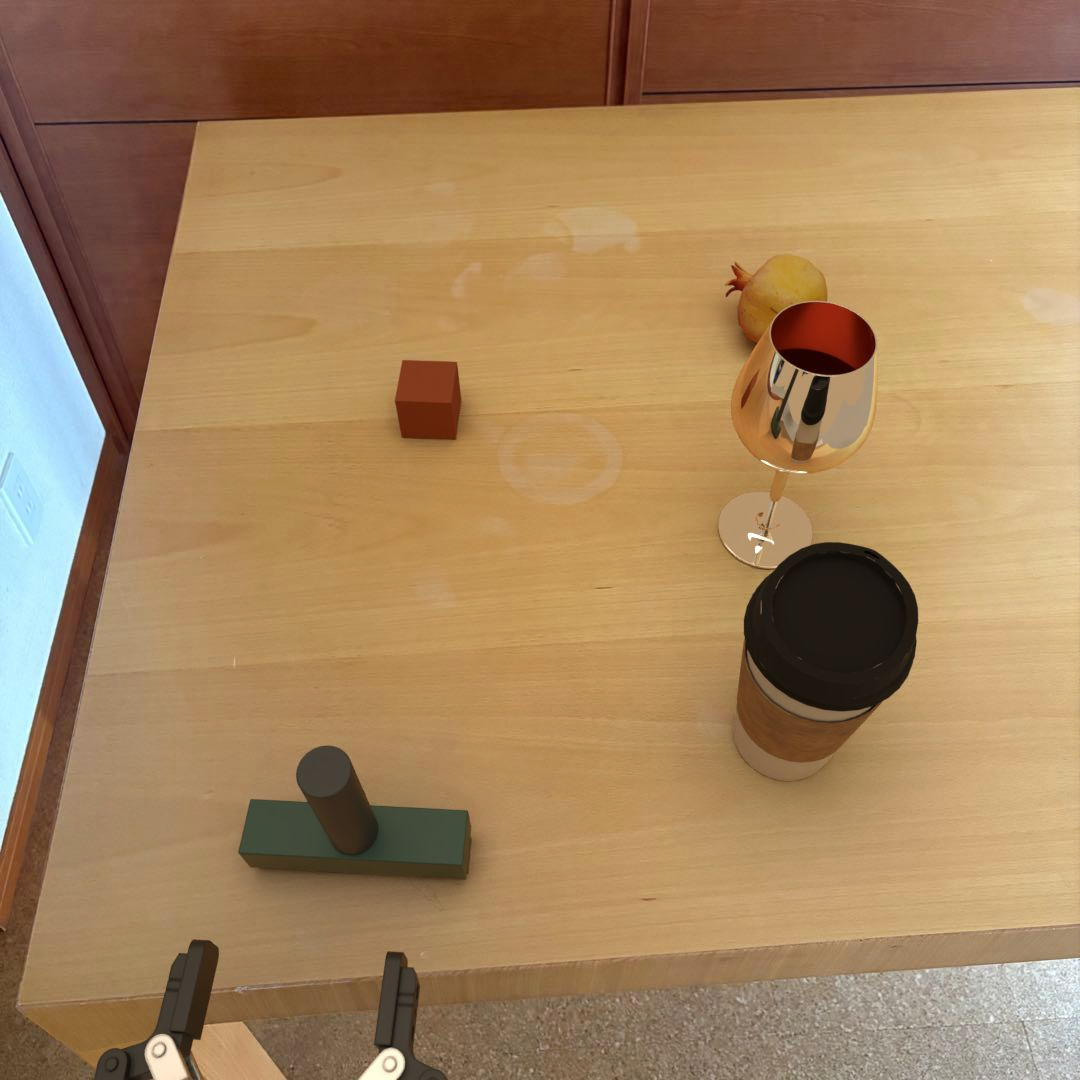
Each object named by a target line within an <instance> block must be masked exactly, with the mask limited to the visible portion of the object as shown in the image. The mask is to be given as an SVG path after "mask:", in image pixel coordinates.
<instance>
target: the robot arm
mask: <svg viewBox="0 0 1080 1080" xmlns="http://www.w3.org/2000/svg"><path fill="white" fill-rule="evenodd" d="M188 945H189V946H188V949H187V952H186V953H185V952H179V953H178V954H177V955H176V957H175V959H174V960H173V962H172V963H171V966H170V970H169V974H168V977H167V979H168V980H167V983H166V986H165V991H164V994H163V998H162V1002H161V1005H160V1010H159V1014H158V1019H157V1022H156V1026H155V1028H154V1030H153V1032H152V1034H150V1036H149V1037H148V1038H146V1039H145V1040H143V1041H142V1042H139V1043H136V1044H132V1045H130V1046H127V1047H123V1048H118V1047H112V1048H109V1049H107V1050H106V1051H104V1052H103V1053H102V1054H101V1056H100V1057H99V1059H98V1061H97V1064H96V1068H95V1073H94V1077H93V1080H205V1079H204V1076H203V1073H202V1072H201V1070H200V1067H199V1065H198V1062H197V1060H196V1058H195V1056H194V1054H193V1051H192V1047H193V1042H194V1041H201V1039H202V1035H203V1031H204V1026H205V1022H206V1017H207V1013H208V1008H209V1004H210V1000H211V994H212V991H213V985H214V980H215V977H216V972H217V968H218V963H219V959H220V949H219V947H218V945H216V944H215V943H213V942H212V941H211V940H210V939H196V938H195V939H194V938H193V939H191V941H190V942H189V944H188ZM408 962H409V959H408V957H407V955H406V954H405V952H404V951H387V952H386V955H385V960H384V965H383V966H384V967H383V972H382V973H383V974H382V980H381V987H380V988H381V989H380V995H379V1003H378V1011H377V1018H376V1024H375V1025H376V1026H375V1032H374V1040H373V1045H374V1046H375V1047H376V1049H378V1055H377V1056H376V1057H375V1058H374V1060H373V1061H372V1062H371V1063H370V1064H369V1065H368V1067H367V1068H366V1069H365V1070H364V1071H363V1073H362V1074H361V1075H360V1076H359V1077H358V1078H357V1080H449V1078H447V1076H446V1074H444V1072H443V1071H442V1070H440V1069H438V1068H434V1067H432V1066H430V1065H428V1064H426V1063H424V1062H422V1061H420V1060H418V1059H417V1058H416V1056H415V1051H414V1042H415V1035H416V1028H417V1027H416V1026H417V1019H418V1018H417V1017H418V1008H419V999H420V993H421V985H420V981H419V976H418V973H417V971H416V970H415V967H412V966H409V963H408Z"/></svg>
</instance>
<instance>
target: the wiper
mask: <svg viewBox="0 0 1080 1080" xmlns="http://www.w3.org/2000/svg"><path fill="white" fill-rule="evenodd" d="M295 779H296V783H297V787H298V788H299V790H300V791H301V793H302V795H303V797H304V798H305V800H306V801H297V800H296V801H295V800H277V799H257V798H250V799H249V804H248V808H247V812H246V816H245V820H244V826H243V831H242V835H241V839H240V843H239V847H238V851H237V852H238V855H239V856H240V857H241V858H242V860H243V861H244V862H245V863H246V865H248V866H249V868H255V869H272V870H288V871H289V870H290V871H292V870H293V871H307V872H309V871H310V872H324V873H325V872H328V873H346V874H363V875H380V876H396V877H397V876H399V877H417V878H436V879H451V880H452V879H454V880H466V879H467V876H468V875H469V870H470V859H471V849H472V836H471V835H472V823H471V818H470V814H469V810H467V809H448V808H432V807H431V808H429V807H412V806H411V807H408V806H393V805H392V806H389V805H371V804H370V801H369V799H368V796H367V794H366V792H365V790H364V788H363V786H362V783H361V781H360V779H359V777H358V774H357V772H356V770H355V767H354V765H353V763H352V761H351V758H350V756H349V755H348V753H346V751H344V750H343V749H342V748H340V747H338V746H335V745H320V746H317V747H315V748H312V749H311V750H309V751H308V752H306V753H305V754H304V755H303V757H302V758H301V759H300V761H299V762H298V765H297V768H296V773H295Z"/></svg>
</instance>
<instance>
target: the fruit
mask: <svg viewBox="0 0 1080 1080" xmlns="http://www.w3.org/2000/svg"><path fill="white" fill-rule="evenodd" d="M730 268H731V269H732V272H733V275H734V276H735V278H732V279H730V280H728V281H727V282H726V283H724V286H725V287H726V286H727V287H728V286H733V287H731V288H729V289H728V290H727V291H726V293H725V298H728V297H729V295H730V294H731V293H733V292H735V291H740V293H741V294H740V297H739V301H738V304H737V323H738V326H739V327H740V329H741V330H742V332H743V333H744V334H745V337H747V339H749V340H750V341H752V342H754V343H756V344H757V343H758V342H759V340H760V339H761V337H762V336H763V334H764V333H765V331H766V330H767V328H768V327H769V325H770V324H771V322H772V320H773V319H774V318H775V316H776V315H777V314H778V313H779V312H780V311H782V310H783V309H785V308H786V307H788V306H791V305H793V304H796V303H800V302H805V301H826V302H828V287H827V282H826V277H825V275H824V273H823V272H822V271H821V270H820V269H818V267H816V266H815V265H814V264H813V263H812V262H811V261H810V260H808V259H806V258H804V257H801V256H799V255H795V254H789V253H788V254H787V253H786V254H785V253H784V254H783V253H782V254H776V255H774V256H772V257H771V258H769V259H768V260H767V261H766V262H765V263H764V264H763V265H762V266H761V267H760V268H759V269H757V270H756V272H755V273H754V274H752V273H749V272H748V271H747V270H746V269H745V268H744V267H742V266H741V264H739V263H738V262H737V261H734V265H733V264H731V265H730Z"/></svg>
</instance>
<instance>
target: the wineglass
mask: <svg viewBox="0 0 1080 1080" xmlns="http://www.w3.org/2000/svg"><path fill="white" fill-rule="evenodd" d="M878 364H879V362H878V338H877V335H876V332H875V330H874V328H873V327H872V325H871V323H869V321H868V320H867V319H866V318H864V317H863V316H862V314H859V313H858V312H857V311H855V310H854V309H851V308H849V307H847V306H845V305H842V304H839V303H835V302H831V301H827V302H826V301H805V302H800V303H796V304H793V305H791V306H788V307H786V308H785V309H783V310H782V311H780V312H779V313H778V314H777V315H776V316H775V318H774V319H773V320H772V322H771V324H770V325H769V327H768V328H767V330H766V331H765V333H764V334H763V336H762V337H761V339H760V340H759V342H758V343H756V345H755V346H754V348H753V350H752V351H751V353H750V354H749V356H748V358H747V359H746V361H745V362H744V365H743V366H742V368H741V369H740V372H739V374H738V376H737V379H736V381H735V382H734V383H735V384H734V386H733V389H732V393H731V397H730V398H731V399H730V414H731V415H730V416H731V421H732V425H733V428H734V431H735V433H736V435H737V436H738V439H739V440H740V442H741V443H742V445H743V446H744V447H745V448H746V450H747V451H748V452H749V453H750V454H751V455H752V456H753V457H754V458H756V459H757V460H758V461H759V462H761V463H762V464H763V465H766V466H768V467H769V468H771V469H773V470H775V473H774V476H773V481H772V484H771V489H770V491H761V490H760V491H759V490H758V491H750V492H746V493H742V494H740V495H737V496H736V497H734V498H732V499H731V500H730V501H728V503H726V505H725V506H724V507H723V508H722V510H721V512H720V514H719V518H718V522H717V531H718V536H719V538H720V541H721V543H722V544H723V547H725V549H726V550H727V552H728V553H729V554H731V556H733V557H734V558H735V559H737V560H738V561H740V562H741V563H743V564H746V565H747V566H750V567H754V568H756V569H757V568H758V569H764V570H775V569H776V567H777V566H778V565H779V564H780V563H781V562H782V561H784V560H785V559H786V558H787V557H788V556H789V555H791V554H793V553H795V552H796V551H798V550H800V549H801V548H804V547H807V546H810V545H812V541H813V535H814V533H813V526H812V523H811V520H810V518H809V516H808V515H807V513H806V512H805V510H804V509H803V508H801V507H800V506H799V505H798V504H797V503H796V502H794V501H793V500H792V499H790V498H788V497H787V496H784V495H783V494H784V490H785V486H786V483H787V480H788V477H789V474H794V475H811V474H817V473H822V472H825V471H829V470H831V469H834V468H836V467H838V466H840V465H841V464H843V463H845V462H847V461H848V460H849V459H850V458H852V457H853V456H854V455H856V454H857V452H858V451H860V449H861V448H862V447H863V446H864V444H865V443H866V441H867V439H868V437H869V436H870V433H871V431H872V430H873V429H872V428H873V426H874V423H875V419H876V414H877V406H878V405H877V404H878V388H879V387H878V386H879V385H878V379H879V374H878V373H879V372H878V371H879V369H878V368H879V366H878Z"/></svg>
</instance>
